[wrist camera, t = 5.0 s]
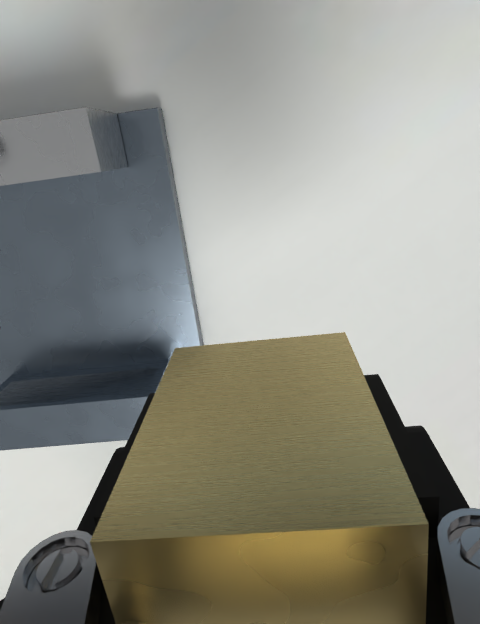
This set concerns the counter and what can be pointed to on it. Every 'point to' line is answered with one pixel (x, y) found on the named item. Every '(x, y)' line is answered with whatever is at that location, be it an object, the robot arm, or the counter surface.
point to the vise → (92, 295)
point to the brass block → (264, 496)
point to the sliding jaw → (59, 145)
